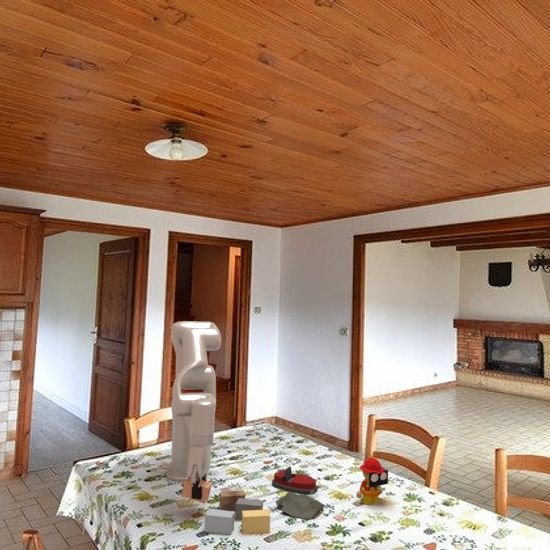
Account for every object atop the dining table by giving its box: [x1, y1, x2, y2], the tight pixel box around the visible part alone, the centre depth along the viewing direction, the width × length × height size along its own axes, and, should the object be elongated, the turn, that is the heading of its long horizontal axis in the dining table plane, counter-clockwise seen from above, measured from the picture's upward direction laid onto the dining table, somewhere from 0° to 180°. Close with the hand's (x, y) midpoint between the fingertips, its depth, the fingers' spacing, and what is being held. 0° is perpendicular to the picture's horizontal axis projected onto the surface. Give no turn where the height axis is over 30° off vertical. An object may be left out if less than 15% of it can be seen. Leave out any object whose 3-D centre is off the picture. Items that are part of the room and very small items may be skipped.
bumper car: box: [269, 454, 318, 496], centre depth 168 cm, size 10×20×10 cm, turn 62°
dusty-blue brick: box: [203, 508, 236, 536], centre depth 133 cm, size 8×4×5 cm, turn 80°
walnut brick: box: [218, 489, 246, 512], centre depth 148 cm, size 8×4×5 cm, turn 102°
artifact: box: [275, 491, 325, 520], centre depth 149 cm, size 14×4×15 cm
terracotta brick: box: [181, 476, 213, 505], centre depth 144 cm, size 8×4×5 cm, turn 81°
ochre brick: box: [241, 509, 271, 535], centre depth 134 cm, size 8×4×5 cm, turn 100°
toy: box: [355, 457, 389, 505], centre depth 156 cm, size 11×9×15 cm
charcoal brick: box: [234, 498, 264, 521], centre depth 142 cm, size 8×4×5 cm, turn 81°
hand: (198, 494), depth 144 cm, fingers closed on terracotta brick, 3 cm apart
